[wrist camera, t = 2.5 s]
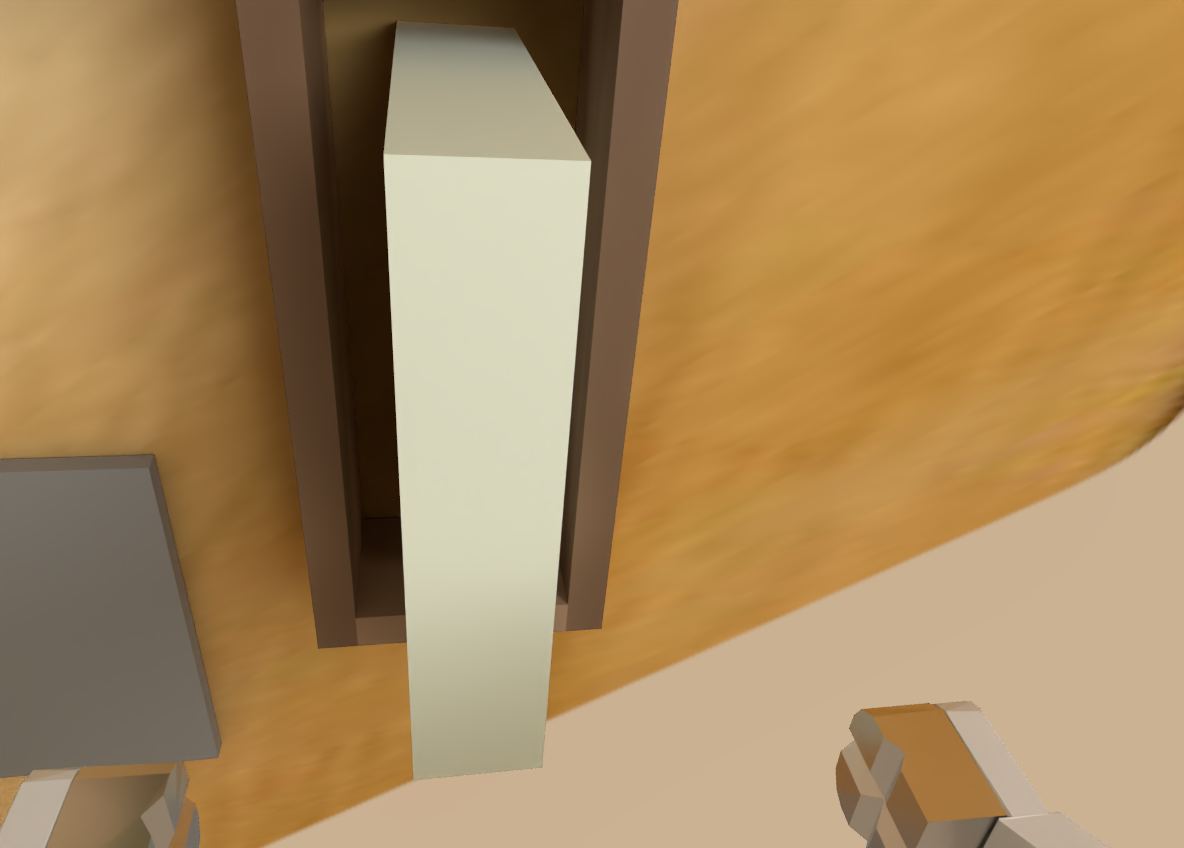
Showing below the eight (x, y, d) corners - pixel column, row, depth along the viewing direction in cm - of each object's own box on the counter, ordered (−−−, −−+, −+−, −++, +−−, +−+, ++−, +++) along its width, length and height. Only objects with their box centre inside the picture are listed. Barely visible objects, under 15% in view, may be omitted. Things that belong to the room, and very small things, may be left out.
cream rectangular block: (413, 474, 25) (413, 780, 17) (397, 20, 18) (383, 154, 10) (500, 471, 25) (542, 767, 17) (513, 27, 19) (591, 161, 11)
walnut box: (330, 546, 26) (318, 648, 22) (257, -130, 17) (219, -126, 13) (578, 534, 27) (601, 628, 24) (638, -95, 18) (689, -84, 15)
